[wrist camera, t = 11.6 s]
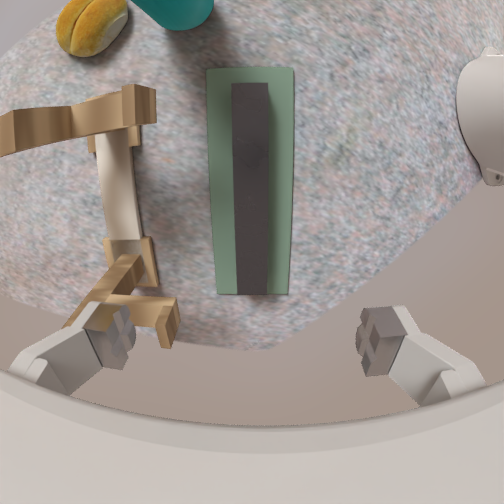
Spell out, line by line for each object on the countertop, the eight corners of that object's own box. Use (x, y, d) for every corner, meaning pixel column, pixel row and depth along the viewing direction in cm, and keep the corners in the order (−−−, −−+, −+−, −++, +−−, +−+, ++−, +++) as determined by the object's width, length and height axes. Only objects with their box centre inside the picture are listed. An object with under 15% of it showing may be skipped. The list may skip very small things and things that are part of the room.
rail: (266, 87, 23) (268, 82, 20) (266, 279, 32) (266, 294, 29) (234, 87, 23) (231, 83, 20) (239, 279, 32) (237, 294, 29)
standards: (186, 81, 23) (104, 41, 9) (199, 284, 32) (165, 398, 18) (89, 99, 23) (-27, 105, 9) (115, 281, 33) (52, 374, 18)
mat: (292, 68, 22) (293, 67, 22) (287, 291, 33) (287, 293, 32) (207, 69, 22) (206, 69, 22) (217, 291, 33) (217, 293, 32)
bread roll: (93, -13, 17) (76, -23, 13) (143, 6, 19) (128, -6, 15) (53, 43, 20) (33, 39, 16) (97, 68, 22) (77, 63, 18)
